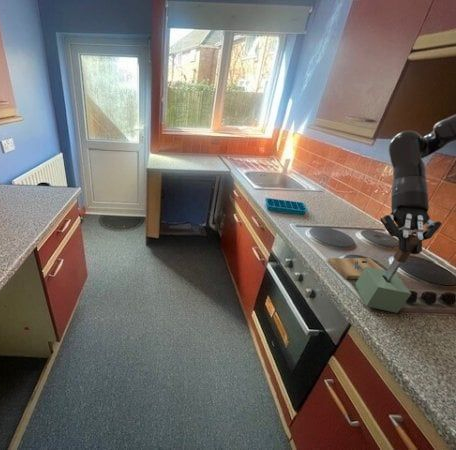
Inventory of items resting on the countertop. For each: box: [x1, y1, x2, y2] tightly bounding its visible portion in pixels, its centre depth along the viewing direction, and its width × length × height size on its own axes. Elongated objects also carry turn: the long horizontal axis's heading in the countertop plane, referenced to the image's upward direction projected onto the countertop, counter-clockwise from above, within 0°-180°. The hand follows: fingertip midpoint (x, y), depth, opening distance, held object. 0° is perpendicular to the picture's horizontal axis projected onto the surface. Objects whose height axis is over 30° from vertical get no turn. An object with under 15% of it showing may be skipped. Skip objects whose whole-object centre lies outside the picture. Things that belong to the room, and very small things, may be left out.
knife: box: [383, 233, 420, 283], centre depth 72 cm, size 3×2×17 cm
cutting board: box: [327, 257, 385, 280], centre depth 92 cm, size 16×10×2 cm, turn 92°
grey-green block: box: [354, 267, 412, 314], centre depth 78 cm, size 10×8×8 cm
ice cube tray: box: [264, 197, 309, 216], centre depth 135 cm, size 12×20×3 cm, turn 73°
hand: (410, 252), depth 68 cm, fingers closed on knife, 2 cm apart
